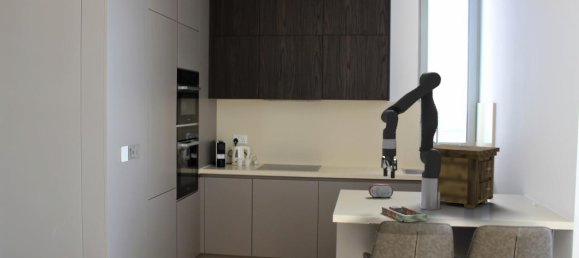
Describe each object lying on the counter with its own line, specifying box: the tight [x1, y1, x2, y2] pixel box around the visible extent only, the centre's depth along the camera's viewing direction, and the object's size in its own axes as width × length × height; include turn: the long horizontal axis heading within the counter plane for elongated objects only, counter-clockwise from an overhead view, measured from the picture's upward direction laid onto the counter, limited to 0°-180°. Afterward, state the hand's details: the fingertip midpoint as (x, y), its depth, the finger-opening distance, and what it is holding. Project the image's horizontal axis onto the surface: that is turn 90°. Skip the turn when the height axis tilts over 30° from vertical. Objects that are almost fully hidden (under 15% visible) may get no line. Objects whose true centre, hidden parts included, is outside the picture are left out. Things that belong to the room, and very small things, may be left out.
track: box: [381, 205, 428, 223], centre depth 293 cm, size 13×24×3 cm, turn 17°
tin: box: [368, 183, 394, 198], centre depth 352 cm, size 15×3×8 cm, turn 92°
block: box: [388, 205, 403, 214], centre depth 302 cm, size 5×5×4 cm
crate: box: [418, 143, 500, 209], centre depth 336 cm, size 35×35×33 cm
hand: (389, 177), depth 308 cm, fingers open, 8 cm apart
